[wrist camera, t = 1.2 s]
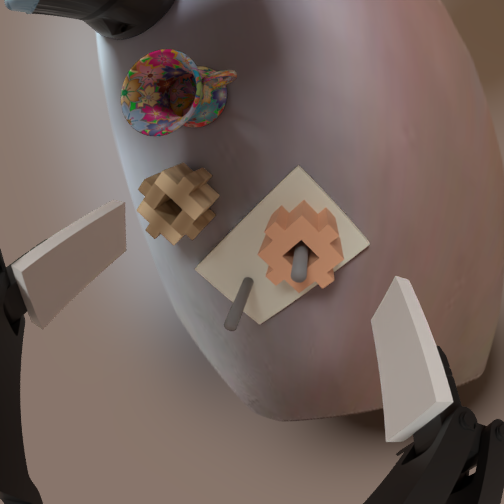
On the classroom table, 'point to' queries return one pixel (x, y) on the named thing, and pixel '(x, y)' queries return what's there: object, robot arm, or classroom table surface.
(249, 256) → the gear board
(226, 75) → the mug
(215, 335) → the classroom table surface
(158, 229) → the gear
